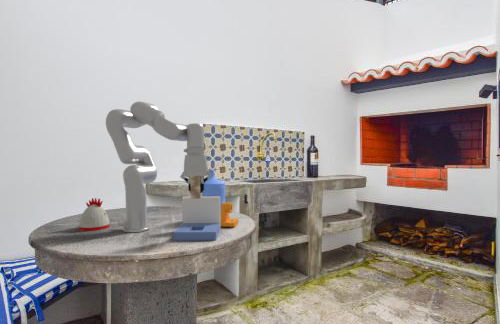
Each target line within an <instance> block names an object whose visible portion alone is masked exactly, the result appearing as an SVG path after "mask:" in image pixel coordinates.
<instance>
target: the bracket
mask: <svg viewBox="0 0 500 324" xmlns="http://www.w3.org/2000/svg"><path fill="white" fill-rule="evenodd" d="M233 207H234V206H233V202H230V201H229V202H226V201H225V202H222V205H221V214H220V228H221V227H222V228H236V226H238V224H239V218H233V217H232V218H231V217H230V214H232V213H233V209H234V208H233Z"/></svg>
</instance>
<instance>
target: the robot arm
mask: <svg viewBox="0 0 500 324" xmlns="http://www.w3.org/2000/svg"><path fill="white" fill-rule="evenodd" d="M129 109H130V110H127V109H119V108H118V109H117V108H116V109H111V110H110V111H109V112H108V113H107V114H106V118H105V126H106V131H107V133H108V134H109V136H110V138H111V141H112V143H113V147H114V149H115V151H116V153H117V155H118V158H119V160H120V162H121V163H122V164H124V165H129V166H127V167H126V168H125V169H124V170H123V173H122V177H123V183H124V190H125V220H124V221H122V220H120V221H117V225H118V226H119V227H122V232H125V233H141V232H146V231H149V230H150V229H151V226H150V224H148V222H147V219H148V218H147V190H146V188H145V185H144V184H151V183H153V182H155V181H156V180H157V176H158V171H157V169H156V168H157V167H156V166H155V163H154V161H153V158H152V155H151V153H150V151H149V150H148V148H147V147H145V146H143V145H136V144H135V143H134V142H133V140H132V138H131V136H130V133H129V132H128V131H127V130H126V129H125V128H129V129H138V128H141V127H144V126H145V125H147V126H149V127H151V128H152V130H153V131H154V132H155V133H157V135H160V136H162V137H163V138H165V139H167V140H170V141H179V142H186V148H184V149H183V153H186V154H184V162H183V171H182V172H181V174H180V176H179V177H180V178H181V179H182V180H184V182H186V183H187V184H188V186H187V187H188V192H189V193H190V194H191V181H190V176H200V179H201V184H200V193H202V192H203V191H204V183H205V182H206V181H207V180H208V179H209V178H211V177H212V175H211V174H210V172H209V170H208V160H207V155H206V154H205V129H204V125H203V124H202V123H189V124H181V123H175V122H172V121H170V120H168V119H167V118H166V117H165V116H166V115H165V114H164V112H162V111H161V110H159V108H158V107H157V106H156V105H155V104H152V103H149V102H144V101H135V102H134V103H132V104H131V106H130V108H129Z"/></svg>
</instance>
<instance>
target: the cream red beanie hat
mask: <svg viewBox="0 0 500 324" xmlns="http://www.w3.org/2000/svg"><path fill="white" fill-rule="evenodd" d="M85 204H86V206H87V207H86V209H84V211H83V212H82V214H81V217H80V219H79V223H78V231H82V232H91V231H94V232H95V231H101V230H105V229H106V230H107V229H108V228H110V227H111V225H110V224H111V223H110V218H109V216H108V214H107V211H106V210H105V209H104V208H103V207H102V205H103V200H101V199H100V198H98V199H97V197H95V198H91V200H88V202H85Z"/></svg>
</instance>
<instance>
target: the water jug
mask: <svg viewBox="0 0 500 324" xmlns="http://www.w3.org/2000/svg"><path fill="white" fill-rule="evenodd" d="M208 171H209V172H210V174H211V175H212V177H211V178H209V179H208V180H207V181H206V182H205V183H204V191H203V192H202V197H220V214H221V205H222V202H226V182H224V181H222V180H220V179H219V178H216V177H215V170H214V169H209V170H208Z"/></svg>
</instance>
